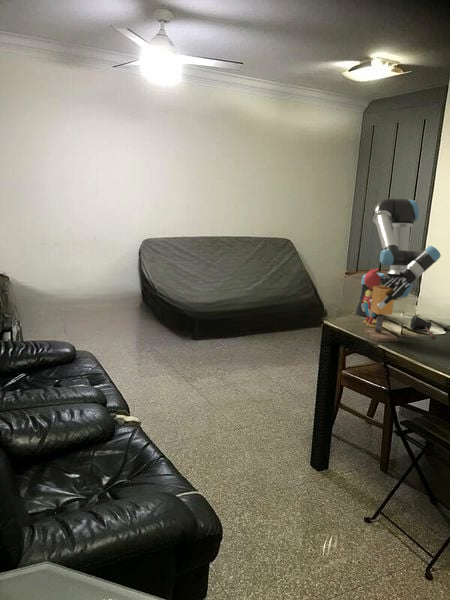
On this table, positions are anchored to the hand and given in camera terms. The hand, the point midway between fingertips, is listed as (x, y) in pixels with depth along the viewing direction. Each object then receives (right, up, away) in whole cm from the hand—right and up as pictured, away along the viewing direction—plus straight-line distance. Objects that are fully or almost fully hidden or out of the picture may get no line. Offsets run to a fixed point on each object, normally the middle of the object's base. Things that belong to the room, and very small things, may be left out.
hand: (375, 305), depth 232 cm
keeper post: (+3, -15, +2) cm, 16 cm away
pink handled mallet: (+28, -14, +12) cm, 34 cm away
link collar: (+3, -4, +1) cm, 5 cm away
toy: (+3, -11, +21) cm, 24 cm away
